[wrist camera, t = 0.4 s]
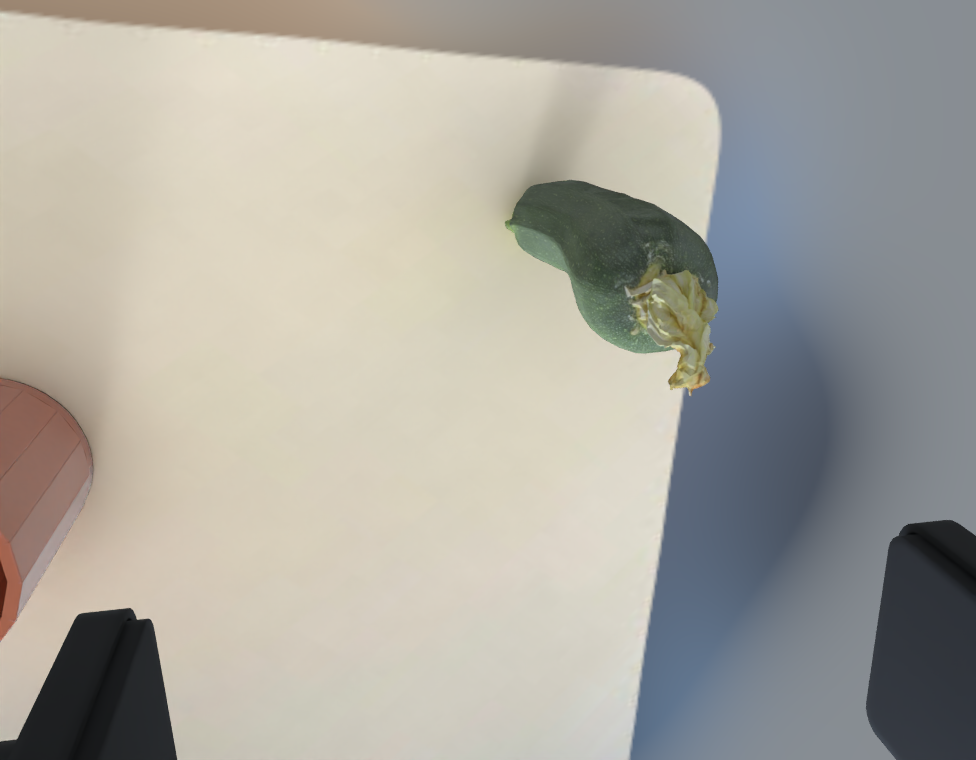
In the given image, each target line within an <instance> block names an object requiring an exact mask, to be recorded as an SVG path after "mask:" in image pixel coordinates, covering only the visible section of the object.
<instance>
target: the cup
mask: <svg viewBox="0 0 976 760" xmlns="http://www.w3.org/2000/svg"><path fill="white" fill-rule="evenodd" d="M92 475H93V462H92V456H91V451H90V448H89V445H88V442H87V439H86V437H85V435H84V433H83V431H82V429H81V428H80V426H79V425H78V423H77V422H76V421H75V419H74V418H73V417H72V416H71V415H70V414H69V412H68V411H67V410H66V409H65V408H63V407H62V406H61V405H60V404H59V403H58V402H56V401H55V400H54V399H52V398H51V397H49V396H48V395H46V394H44V393H43V392H41V391H39V390H37V389H35V388H33V387H30V386H27V385H25V384H22V383H19V382H15V381H11V380H7V379H0V642H1V640H2V639H3V638H4V636H5V635H6V634H7V632H8V631H9V630H10V628H11V627H12V626H13V624H14V623H15V622H16V620H17V618H18V617H19V615H20V613H21V612H22V610H23V608H24V606H25V605H26V603H27V601H28V600H29V598H30V596H31V595H32V593H33V591H34V589H35V588H36V586H37V584H38V583H39V581H40V579H41V578H42V576H43V574H44V572H45V571H46V569H47V567H48V566H49V564H50V562H51V561H52V559H53V557H54V555H55V554H56V552H57V550H58V549H59V547H60V545H61V544H62V542H63V540H64V538H65V537H66V535H67V533H68V532H69V530H70V528H71V527H72V525H73V523H74V521H75V520H76V518H77V516H78V515H79V513H80V511H81V510H82V508H83V506H84V504H85V500H86V498H87V495H88V493H89V490H90V486H91V483H92Z"/></svg>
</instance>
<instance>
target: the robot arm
mask: <svg viewBox="0 0 976 760" xmlns="http://www.w3.org/2000/svg"><path fill="white" fill-rule="evenodd" d="M866 710H867V716H868V720H869V722H870V725H871V727H872V729H873V731H874V732H875V734H876V735H877V737H878V738H879V739H880V740H881V742H882V743H883V744H884V745H885V746H886V748H887V749H888V750H889V751H890V752H891V754H892V755H893V756H894V757H895V759H896V760H976V536H975V535H974V534H972V533H971V532H970V531H968V530H967V529H965V528H964V527H963V526H961V525H960V524H958V523H956V522H954V521H952V520H942V521H933V522H924V523H914V524H908V525H906V526H904V527H903V529H902V530H901V531H900V533H899V536H897V537H895V538H893V539H892V541H891V542H890V545H889V549H888V556H887V564H886V571H885V577H884V584H883V591H882V598H881V605H880V612H879V618H878V626H877V632H876V639H875V646H874V653H873V660H872V667H871V674H870V680H869V688H868V694H867V701H866ZM0 760H177V756H176V750H175V744H174V739H173V733H172V727H171V722H170V716H169V710H168V705H167V699H166V693H165V688H164V682H163V676H162V671H161V665H160V659H159V654H158V648H157V642H156V636H155V631H154V627H153V623H152V621H151V620H150V619H142V620H137V619H136V616H135V614H134V611H133V610H132V609H131V608H126V609H117V610H108V611H99V612H89V613H81V614H79V615H78V616H77V617H76V619H75V620H74V622H73V624H72V626H71V628H70V631H69V633H68V635H67V637H66V639H65V641H64V643H63V645H62V647H61V649H60V651H59V653H58V655H57V658H56V660H55V662H54V664H53V666H52V668H51V670H50V672H49V674H48V676H47V678H46V680H45V683H44V685H43V687H42V689H41V691H40V693H39V695H38V697H37V699H36V701H35V703H34V705H33V708H32V710H31V712H30V714H29V716H28V718H27V720H26V722H25V724H24V726H23V728H22V730H21V732H20V735H19V737H18V739H17V740H10V741H2V742H0Z"/></svg>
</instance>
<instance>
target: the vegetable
mask: <svg viewBox="0 0 976 760" xmlns="http://www.w3.org/2000/svg"><path fill="white" fill-rule="evenodd" d="M505 226H506V227H507V229H509V230H511V231H512V232H513V233H515V237H516V240H517V242H518V245H519V246H520V247H521V248H522V249H523V250H524V251H526V252H527V253H529V254H530V255H532V256H533V257H535V258H537V259H539V260H541V261H543V262H546V263H548V264H550V265H552V266H554V267H556V268H558V269H560V270H563V271H565V272H567V273H568V275H569V277H570V279H571V284H572V288H573V292H574V295H575V299H576V303H577V306H578V308H579V310H580V312H581V314H582V316H583V318H584V320H585V321H586V322H587V324H588V325H589V326H590V328H591V329H592V330H593V331H595V332H596V333H597V334H598V335H599V336H600V337H602V338H603V339H605V340H606V341H608V342H610V343H612V344H614V345H616V346H617V347H619V348H622V349H625V350H628V351H631V352H634V353H653V352H662V351H668V350H673V349H676V350H677V351H678V352H680V354H681V357H680V360H679V362H678V365H677V367H678V369H677V370H676V372H675V373H674V374H673V375H672V376H671V378H670V379H669V380H668V382H669V384H670V390H673V388H684V387H687V388H688V390H689V395H690V396H691V395H692V391H693V389H695V388H698V387H701V386H704V385H705V384H707V383H708V382H709V381H710V376H709V375H708V373H707V370H706V368H705V367H704V363H705V360H706V357H707V355H709V354H710V353H711V352H712V351H713V349H714V348H715V346H713V344H712V343H710V340H709V334H710V332H711V330H710V326H709V325H708V324H707V323H709V322H710V321H711V320H713V319H714V318H715V317H714V315H715V314H716V313H717V311H718V306H717V304H716V301H717V295H718V277H717V272H716V268H715V264H714V261H713V257H712V254H711V252H710V250H709V248H708V246H707V245H706V244H705V242H704V241H703V239H702V238H701V237H700V236H699V235H698V234H697V233H695V232H694V231H693V230H692V229H691V228H689V227H688V226H687V225H686V224H685V223H683V222H682V221H680V220H679V219H677V218H676V217H674V216H673V215H671V214H669V213H668V212H666V211H664V210H662V209H661V208H659V207H658V206H656V205H654V204H652V203H649V202H645V201H642V200H639V199H635V198H632V197H630V196H628V195H626V194H623V193H618V192H614V191H610V190H607V189H604V188H600V187H598V186H595V185H592V184H589V183H587V182H582V181H575V180H567V181H558V182H551V183H545V184H538V185H534V186H531V187H530V188H528V189H527V190H526V192H525V193H524V195H523V196H522V198H521V199H520V200H519V202H518V203H517V204H516V207H515V209H514V211H513V215H512V219H510V220H507V221H506V222H505Z"/></svg>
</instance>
